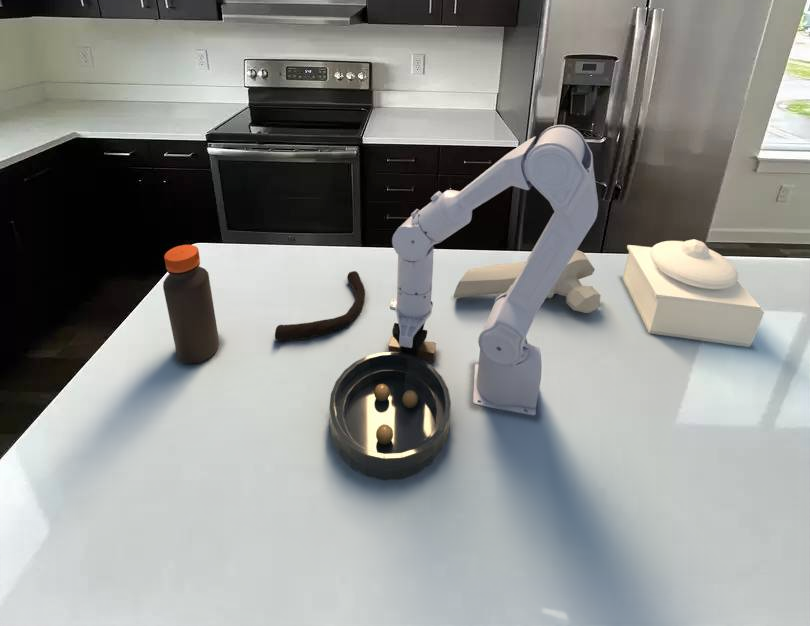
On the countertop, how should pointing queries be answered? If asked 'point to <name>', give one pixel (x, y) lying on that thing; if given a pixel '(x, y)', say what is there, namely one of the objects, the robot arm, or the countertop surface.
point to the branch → (326, 325)
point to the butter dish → (690, 293)
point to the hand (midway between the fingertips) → (412, 348)
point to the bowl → (389, 415)
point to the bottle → (190, 305)
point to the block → (424, 352)
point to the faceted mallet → (505, 274)
